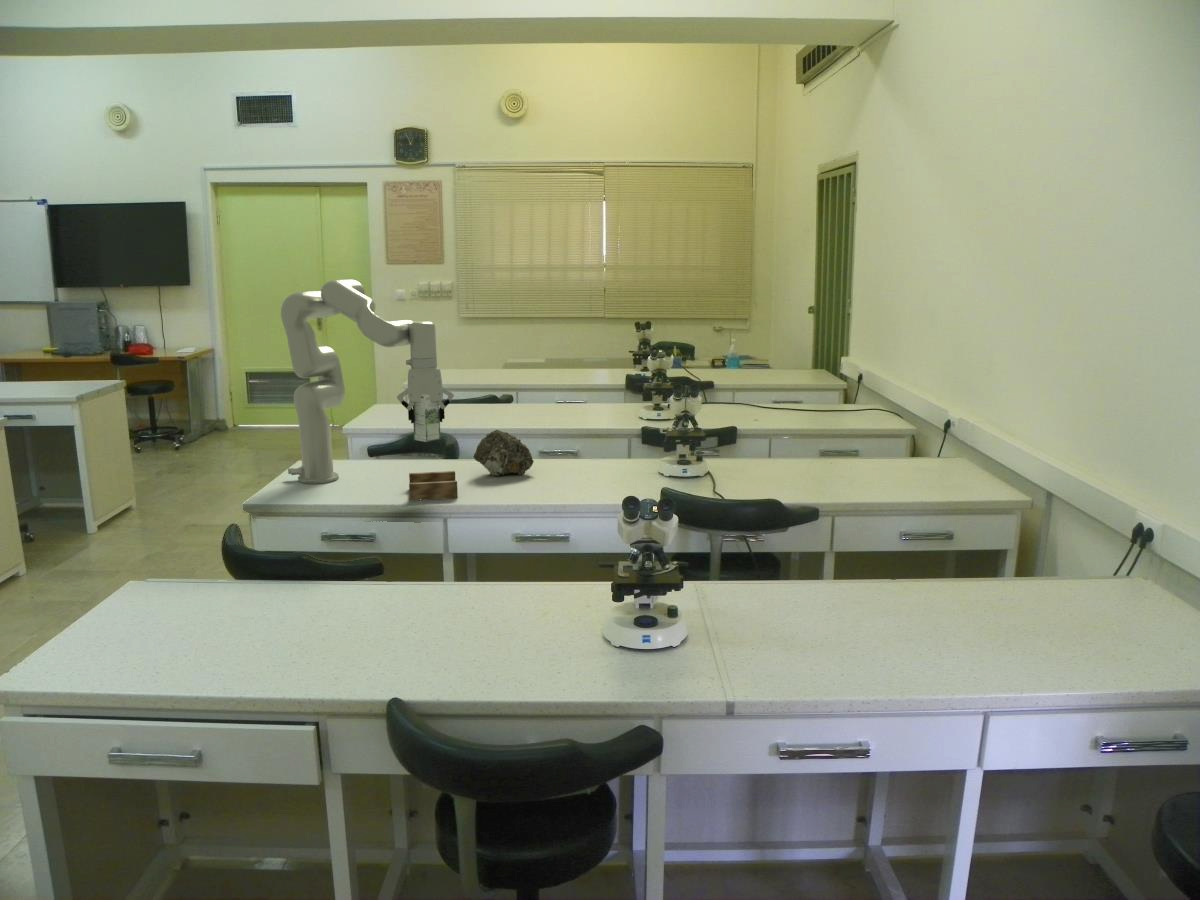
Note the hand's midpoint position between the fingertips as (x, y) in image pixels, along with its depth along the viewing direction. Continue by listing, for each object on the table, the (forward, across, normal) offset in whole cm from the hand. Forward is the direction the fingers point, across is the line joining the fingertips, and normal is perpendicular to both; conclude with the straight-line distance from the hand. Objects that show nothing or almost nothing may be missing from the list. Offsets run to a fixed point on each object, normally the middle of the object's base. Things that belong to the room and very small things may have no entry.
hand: (426, 421), depth 272 cm
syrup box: (+6, 0, 0) cm, 6 cm away
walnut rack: (+22, +1, 0) cm, 22 cm away
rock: (+23, +26, +23) cm, 41 cm away
